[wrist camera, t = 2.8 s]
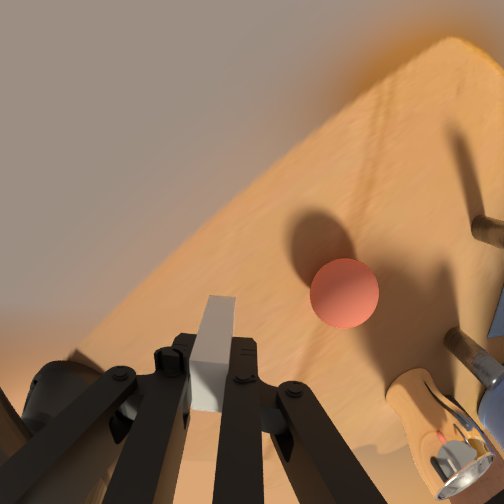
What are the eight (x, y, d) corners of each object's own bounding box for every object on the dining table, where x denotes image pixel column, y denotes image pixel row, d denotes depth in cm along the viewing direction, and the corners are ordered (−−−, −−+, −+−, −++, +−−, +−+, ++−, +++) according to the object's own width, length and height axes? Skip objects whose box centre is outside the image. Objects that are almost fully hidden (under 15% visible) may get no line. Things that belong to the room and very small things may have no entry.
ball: (300, 309, 26) (312, 341, 21) (308, 248, 25) (324, 268, 19) (358, 311, 26) (380, 340, 21) (368, 252, 25) (397, 272, 20)
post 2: (440, 348, 28) (483, 392, 19) (447, 327, 27) (494, 370, 18) (456, 346, 28) (499, 387, 19) (463, 326, 27) (509, 365, 19)
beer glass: (401, 416, 30) (448, 503, 16) (370, 398, 29) (420, 501, 15) (441, 377, 29) (504, 457, 14) (415, 355, 28) (488, 447, 13)
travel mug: (453, 418, 31) (513, 508, 12) (409, 441, 32) (461, 544, 12) (458, 384, 30) (537, 482, 10) (410, 409, 30) (478, 527, 11)
